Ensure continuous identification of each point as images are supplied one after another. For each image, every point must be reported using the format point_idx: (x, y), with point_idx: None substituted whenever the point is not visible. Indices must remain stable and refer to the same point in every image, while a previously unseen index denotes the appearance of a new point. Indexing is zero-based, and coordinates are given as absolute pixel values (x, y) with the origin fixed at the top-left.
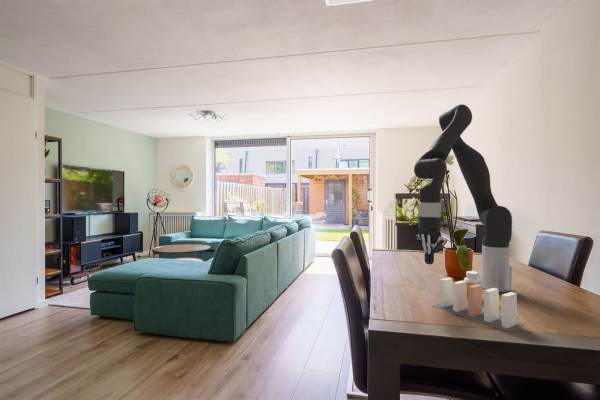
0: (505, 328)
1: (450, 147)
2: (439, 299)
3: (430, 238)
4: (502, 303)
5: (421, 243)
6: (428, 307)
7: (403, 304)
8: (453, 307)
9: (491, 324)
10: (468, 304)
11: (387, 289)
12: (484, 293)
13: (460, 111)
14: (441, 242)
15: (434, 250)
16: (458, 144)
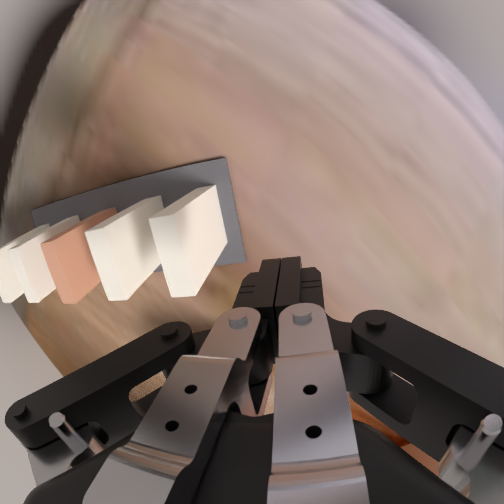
0: (40, 220)
1: None
2: (207, 190)
3: (109, 468)
4: (6, 245)
5: (417, 408)
6: (231, 141)
7: (303, 72)
8: (153, 198)
9: (58, 210)
10: (94, 218)
11: (484, 164)
12: (22, 244)
13: None
14: (21, 404)
15: (150, 341)
16: None
